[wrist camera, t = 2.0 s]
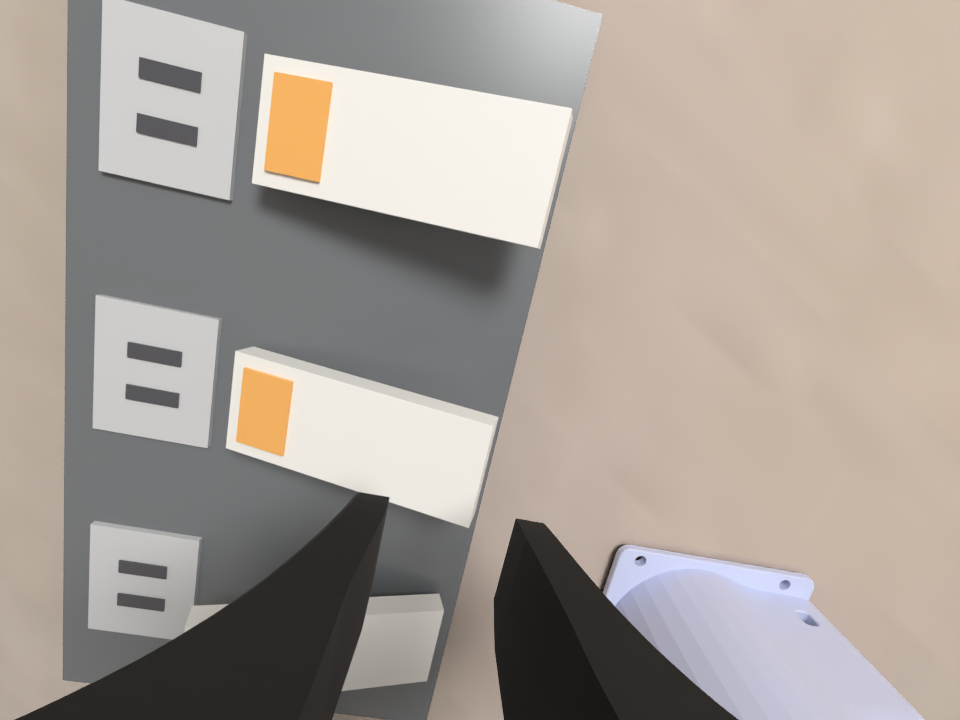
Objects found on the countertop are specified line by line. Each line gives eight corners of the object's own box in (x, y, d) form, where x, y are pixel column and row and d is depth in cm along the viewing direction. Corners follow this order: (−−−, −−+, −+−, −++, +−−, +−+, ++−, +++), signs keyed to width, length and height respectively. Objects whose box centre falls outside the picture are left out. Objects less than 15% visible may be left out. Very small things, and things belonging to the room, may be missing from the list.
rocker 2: (439, 593, 17) (444, 612, 16) (422, 661, 18) (427, 683, 17) (192, 605, 14) (183, 629, 14) (184, 686, 15) (177, 713, 14)
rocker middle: (498, 417, 13) (493, 427, 12) (474, 514, 14) (467, 530, 13) (253, 346, 15) (233, 351, 14) (243, 438, 15) (223, 449, 14)
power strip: (576, 55, 16) (613, -2, 12) (429, 660, 22) (423, 747, 18) (146, -65, 14) (36, -172, 11) (118, 617, 21) (42, 702, 17)
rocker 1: (572, 118, 11) (572, 107, 11) (540, 249, 12) (537, 247, 11) (283, 66, 13) (261, 51, 12) (270, 187, 13) (249, 182, 13)
